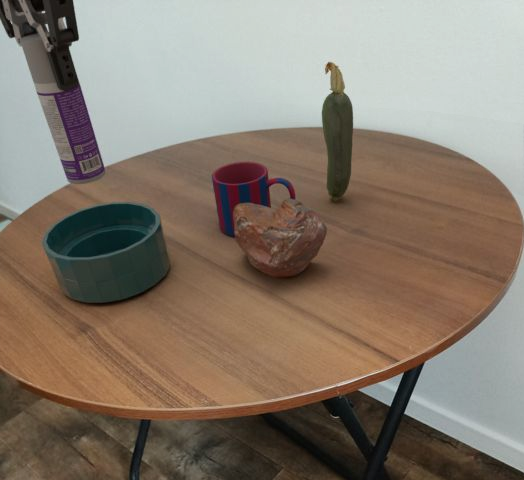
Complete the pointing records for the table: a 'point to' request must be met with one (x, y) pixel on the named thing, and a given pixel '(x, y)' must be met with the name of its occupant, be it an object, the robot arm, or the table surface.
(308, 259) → the stone
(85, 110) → the container
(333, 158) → the vegetable
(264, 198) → the mug
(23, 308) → the table surface
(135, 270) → the teal pet bowl
